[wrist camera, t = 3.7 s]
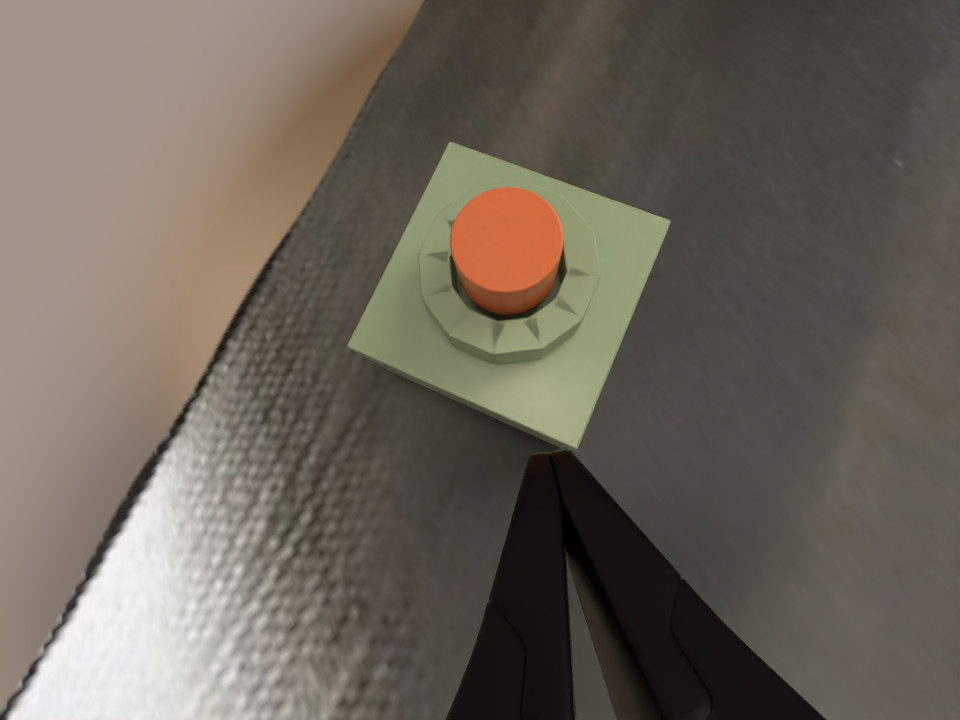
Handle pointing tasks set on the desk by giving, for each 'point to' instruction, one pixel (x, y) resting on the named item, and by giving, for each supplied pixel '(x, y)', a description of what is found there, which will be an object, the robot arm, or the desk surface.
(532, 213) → the orange cylinder cap
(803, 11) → the desk surface
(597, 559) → the robot arm
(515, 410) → the green push button box
